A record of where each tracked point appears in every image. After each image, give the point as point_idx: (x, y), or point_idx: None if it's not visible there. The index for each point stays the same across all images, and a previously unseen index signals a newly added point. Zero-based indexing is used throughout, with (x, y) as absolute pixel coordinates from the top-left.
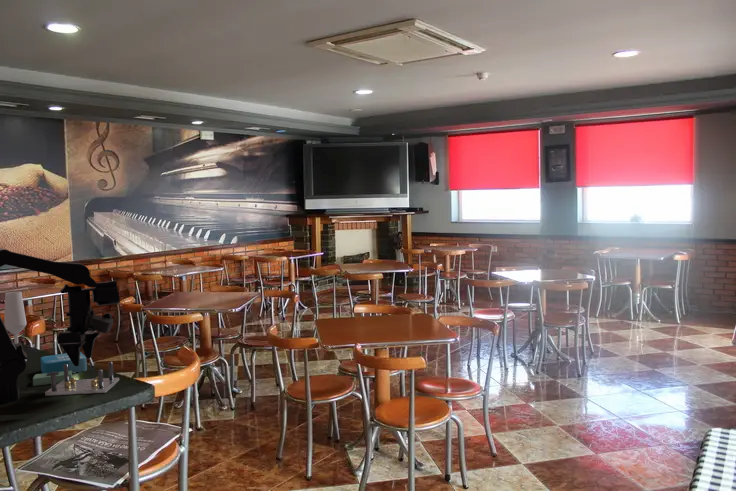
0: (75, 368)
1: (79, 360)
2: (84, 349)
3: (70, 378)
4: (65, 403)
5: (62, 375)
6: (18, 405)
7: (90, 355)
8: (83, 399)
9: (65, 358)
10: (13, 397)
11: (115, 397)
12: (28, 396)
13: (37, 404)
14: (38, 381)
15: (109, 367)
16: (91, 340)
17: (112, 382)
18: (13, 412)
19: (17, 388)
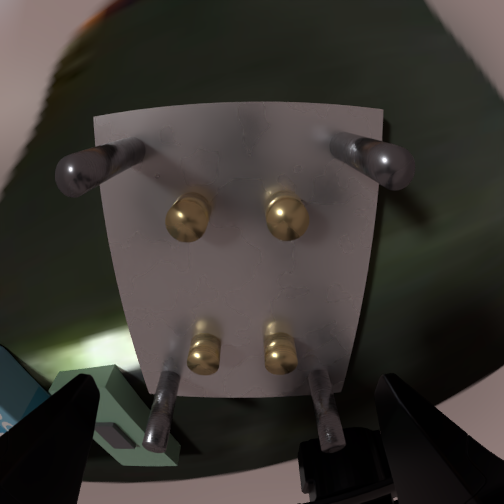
0: (16, 382)
1: (404, 401)
2: (81, 464)
3: (207, 372)
4: (480, 259)
5: (123, 409)
6: None
7: (82, 389)
8: (458, 199)
9: (6, 430)
10: (368, 438)
11: (462, 47)
12: None
13: (442, 353)
14: (170, 447)
15: (108, 170)
16: (10, 498)
17: (220, 107)
18: (482, 370)
19: (357, 458)
